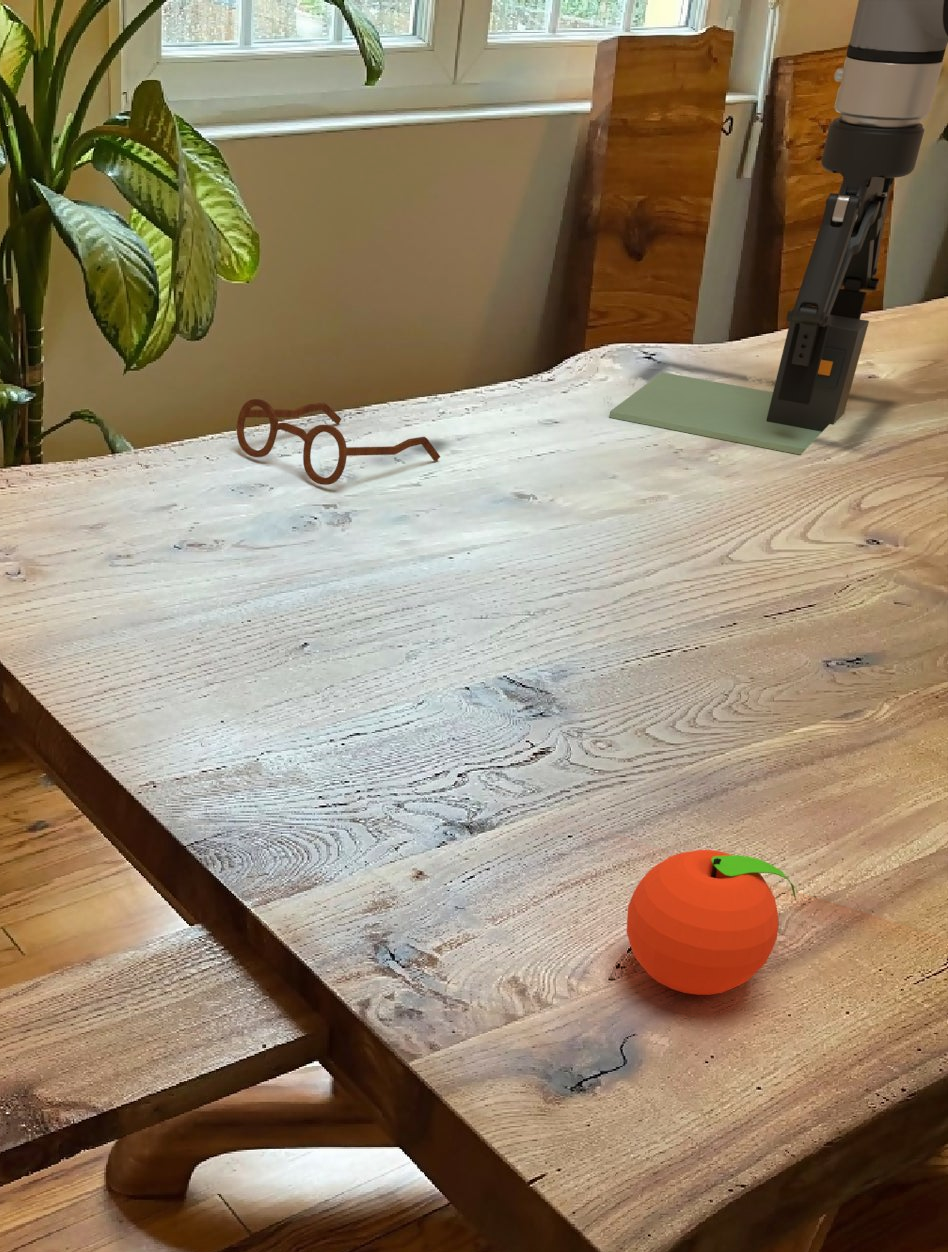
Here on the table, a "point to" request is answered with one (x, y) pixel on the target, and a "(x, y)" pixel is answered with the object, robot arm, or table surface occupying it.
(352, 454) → the glasses
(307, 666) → the table surface
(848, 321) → the clock
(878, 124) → the robot arm
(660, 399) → the mat
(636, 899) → the clementine
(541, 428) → the table surface
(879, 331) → the table surface
